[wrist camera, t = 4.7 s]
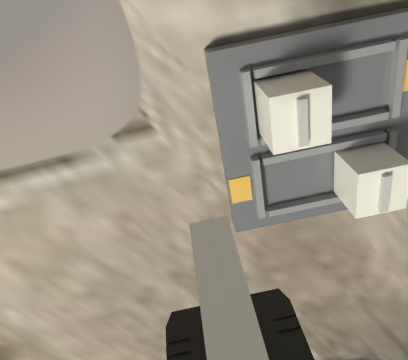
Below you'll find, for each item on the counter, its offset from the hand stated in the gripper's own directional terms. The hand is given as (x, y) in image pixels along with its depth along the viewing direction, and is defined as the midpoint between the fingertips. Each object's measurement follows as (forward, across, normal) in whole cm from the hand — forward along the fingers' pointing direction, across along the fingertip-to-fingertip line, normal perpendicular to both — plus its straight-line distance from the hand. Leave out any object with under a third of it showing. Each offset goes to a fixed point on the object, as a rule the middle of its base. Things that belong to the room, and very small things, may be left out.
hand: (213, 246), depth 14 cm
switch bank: (+16, +10, -4) cm, 19 cm away
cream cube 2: (+14, +13, -7) cm, 20 cm away
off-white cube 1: (+14, +7, 0) cm, 16 cm away
